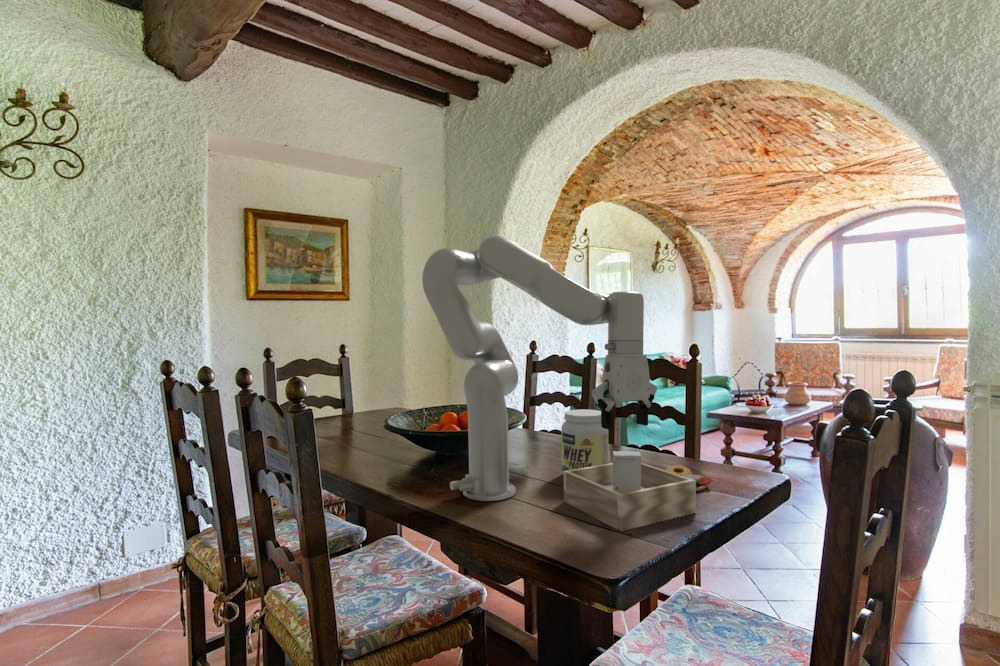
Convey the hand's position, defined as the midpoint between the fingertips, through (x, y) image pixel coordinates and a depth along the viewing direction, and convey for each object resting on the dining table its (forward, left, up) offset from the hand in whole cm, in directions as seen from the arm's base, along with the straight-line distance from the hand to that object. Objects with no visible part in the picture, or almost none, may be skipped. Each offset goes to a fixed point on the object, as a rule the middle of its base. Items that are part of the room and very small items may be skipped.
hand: (624, 426), depth 121 cm
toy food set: (+22, +6, -18) cm, 29 cm away
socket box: (0, 0, -18) cm, 18 cm away
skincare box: (0, 0, -18) cm, 18 cm away
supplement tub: (+6, +24, -18) cm, 30 cm away
